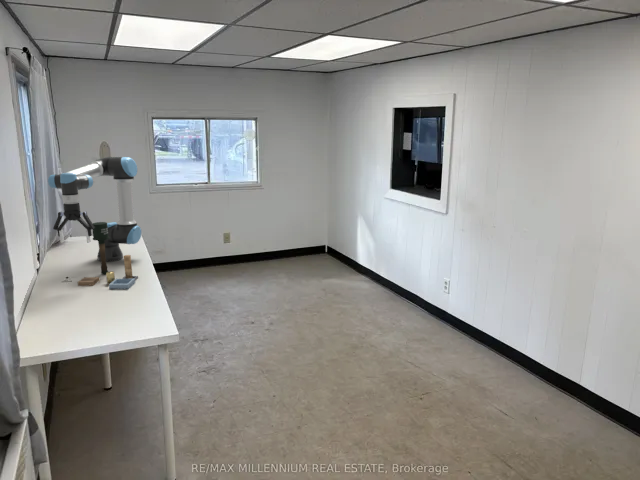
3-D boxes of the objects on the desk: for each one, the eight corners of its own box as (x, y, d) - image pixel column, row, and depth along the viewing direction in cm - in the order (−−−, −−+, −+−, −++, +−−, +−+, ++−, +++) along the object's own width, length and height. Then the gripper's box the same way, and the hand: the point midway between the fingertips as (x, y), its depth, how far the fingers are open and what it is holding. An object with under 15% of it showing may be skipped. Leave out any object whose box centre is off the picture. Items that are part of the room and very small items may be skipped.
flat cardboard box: (84, 281, 263) (84, 277, 263) (99, 281, 263) (99, 277, 263) (78, 286, 256) (77, 282, 255) (93, 286, 256) (92, 281, 255)
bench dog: (109, 281, 262) (107, 271, 260) (116, 281, 262) (115, 271, 260) (106, 284, 258) (104, 273, 256) (113, 284, 258) (112, 273, 256)
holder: (125, 278, 268) (125, 276, 268) (138, 278, 268) (137, 276, 268) (120, 282, 261) (120, 280, 261) (133, 282, 261) (133, 280, 261)
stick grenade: (106, 276, 270) (101, 225, 263) (93, 275, 272) (87, 224, 265) (116, 272, 278) (111, 222, 271) (102, 271, 280) (97, 221, 273)
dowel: (127, 279, 266) (125, 254, 263) (133, 279, 267) (131, 254, 263) (124, 281, 263) (122, 256, 260) (131, 281, 263) (129, 256, 260)
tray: (116, 282, 260) (116, 278, 259) (135, 282, 260) (134, 278, 259) (109, 289, 250) (108, 284, 249) (128, 289, 250) (128, 284, 250)
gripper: (42, 204, 244) (48, 244, 249) (92, 203, 246) (97, 243, 251) (50, 201, 252) (55, 240, 257) (98, 201, 253) (102, 240, 258)
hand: (75, 242), depth 254 cm, fingers open, 13 cm apart
